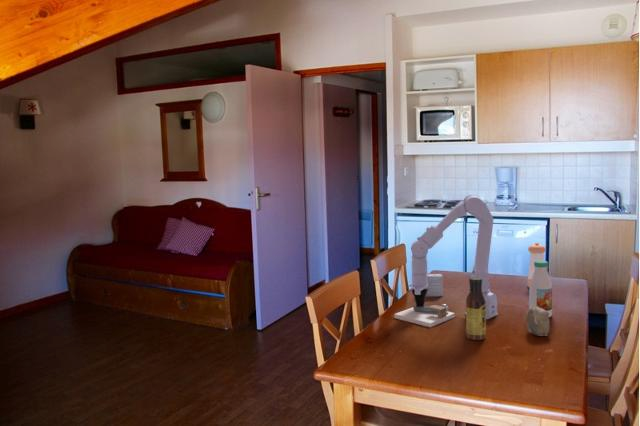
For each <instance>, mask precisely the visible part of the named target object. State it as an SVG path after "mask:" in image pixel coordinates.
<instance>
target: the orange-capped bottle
mask: <svg viewBox="0 0 640 426" xmlns="http://www.w3.org/2000/svg"><path fill="white" fill-rule="evenodd" d="M546 250H547V249H546V247H545V246H544V245H543V244H540V243H539V242H536V243H534V244H531V245H529V246H528V252H529V265H528V272H527V273H528V277H527V287H528V288H530V280H531V278H532V276H533V274H534V271H535V267H534V262H535V261H545V260H544V259H545V258H544V256H545V252H546Z"/></svg>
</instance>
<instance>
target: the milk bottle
mask: <svg viewBox="0 0 640 426" xmlns="http://www.w3.org/2000/svg"><path fill="white" fill-rule="evenodd" d="M534 267H535V271H534V274H533V276H532V278H531V280H530V288H529V287H528V288H529V291H528V293H529V294H528V296H529V298H528V311H529V310H530V309H531V308H532V306H537V307H539V308H542V309H544V310H546V311H547V312H548V313H549V315H548V316H549V318H551V317H552V314H553V282H552V280H551V277H550V274H549V272H548V269H549V262H548V261H547V260H544V261H535V262H534Z"/></svg>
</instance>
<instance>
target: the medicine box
mask: <svg viewBox="0 0 640 426" xmlns="http://www.w3.org/2000/svg"><path fill="white" fill-rule="evenodd" d="M427 275H428V287H427V288H426V289H428V291H427V294H426V296H425V298H427V297H443V295H444V290H443V289H444V288H443V287H444V286H443V285H444V284H443V281H444V280H443V278H444V277H443V275H442V274H441V273H431V274H430V273H427Z"/></svg>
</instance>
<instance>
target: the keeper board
mask: <svg viewBox="0 0 640 426" xmlns="http://www.w3.org/2000/svg"><path fill="white" fill-rule="evenodd" d="M428 306H429V307H428V309H431V310H435V311H438V312H424V311H414V306H412V307H410V308H407V309H404V310H402V311H399V312H396V313H394V319H397V320H401V321H405V322H409V323H413V324H416V325H420V326H423V327H426V328H432V327H434V326H437V325H440V324H441V323H444V322H447V321H450V320H451V319H454V318H455V317H456V313H455V312H452V311H448V314H446V307H442V306H441V305H436V304H433V305H428Z"/></svg>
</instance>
